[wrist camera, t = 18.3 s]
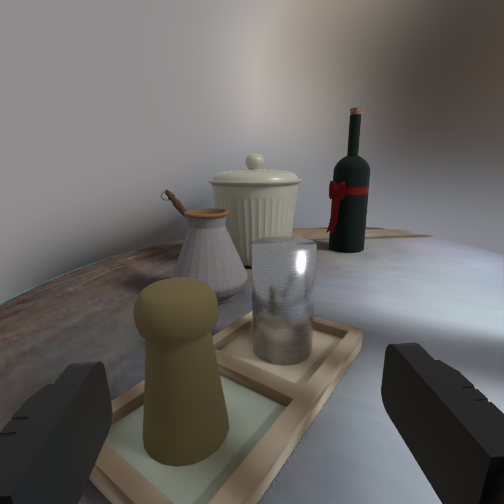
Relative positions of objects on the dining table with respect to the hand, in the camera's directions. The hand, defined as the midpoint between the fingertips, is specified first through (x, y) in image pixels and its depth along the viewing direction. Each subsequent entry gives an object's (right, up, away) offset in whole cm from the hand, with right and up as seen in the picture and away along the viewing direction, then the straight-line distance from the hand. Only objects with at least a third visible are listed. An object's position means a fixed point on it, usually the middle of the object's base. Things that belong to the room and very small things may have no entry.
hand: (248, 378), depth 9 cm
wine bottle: (+21, +4, +64) cm, 68 cm away
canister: (+1, +2, +57) cm, 57 cm away
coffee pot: (-9, -2, +44) cm, 45 cm away
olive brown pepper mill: (-5, -9, +14) cm, 17 cm away
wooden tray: (0, -9, +19) cm, 21 cm away
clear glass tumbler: (+3, -6, +23) cm, 24 cm away
